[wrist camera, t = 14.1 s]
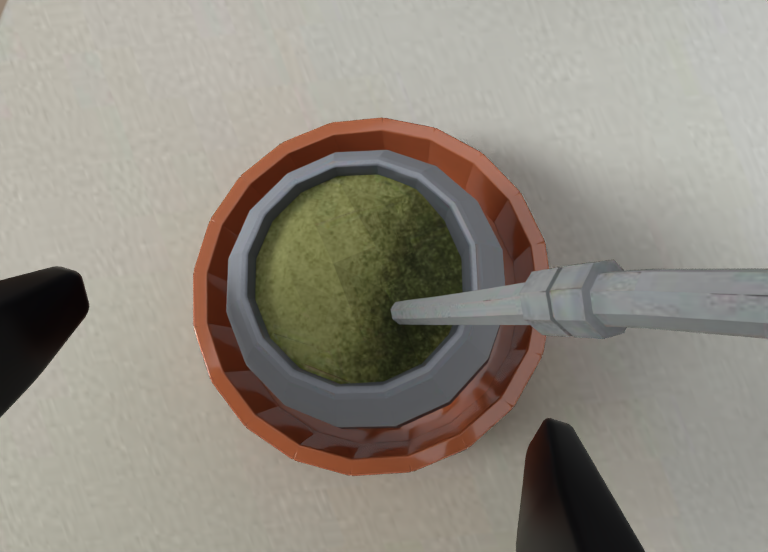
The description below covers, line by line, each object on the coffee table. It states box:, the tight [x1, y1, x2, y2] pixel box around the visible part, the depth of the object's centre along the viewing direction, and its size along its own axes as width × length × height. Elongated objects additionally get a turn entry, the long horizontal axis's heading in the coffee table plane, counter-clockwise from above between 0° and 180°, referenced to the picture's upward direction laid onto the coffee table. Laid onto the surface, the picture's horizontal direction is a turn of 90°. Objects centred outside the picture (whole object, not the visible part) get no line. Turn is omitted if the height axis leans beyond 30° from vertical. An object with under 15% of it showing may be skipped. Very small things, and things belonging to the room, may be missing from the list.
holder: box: [193, 118, 549, 476], centre depth 17 cm, size 12×12×3 cm
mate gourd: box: [226, 150, 768, 429], centre depth 10 cm, size 8×8×15 cm
